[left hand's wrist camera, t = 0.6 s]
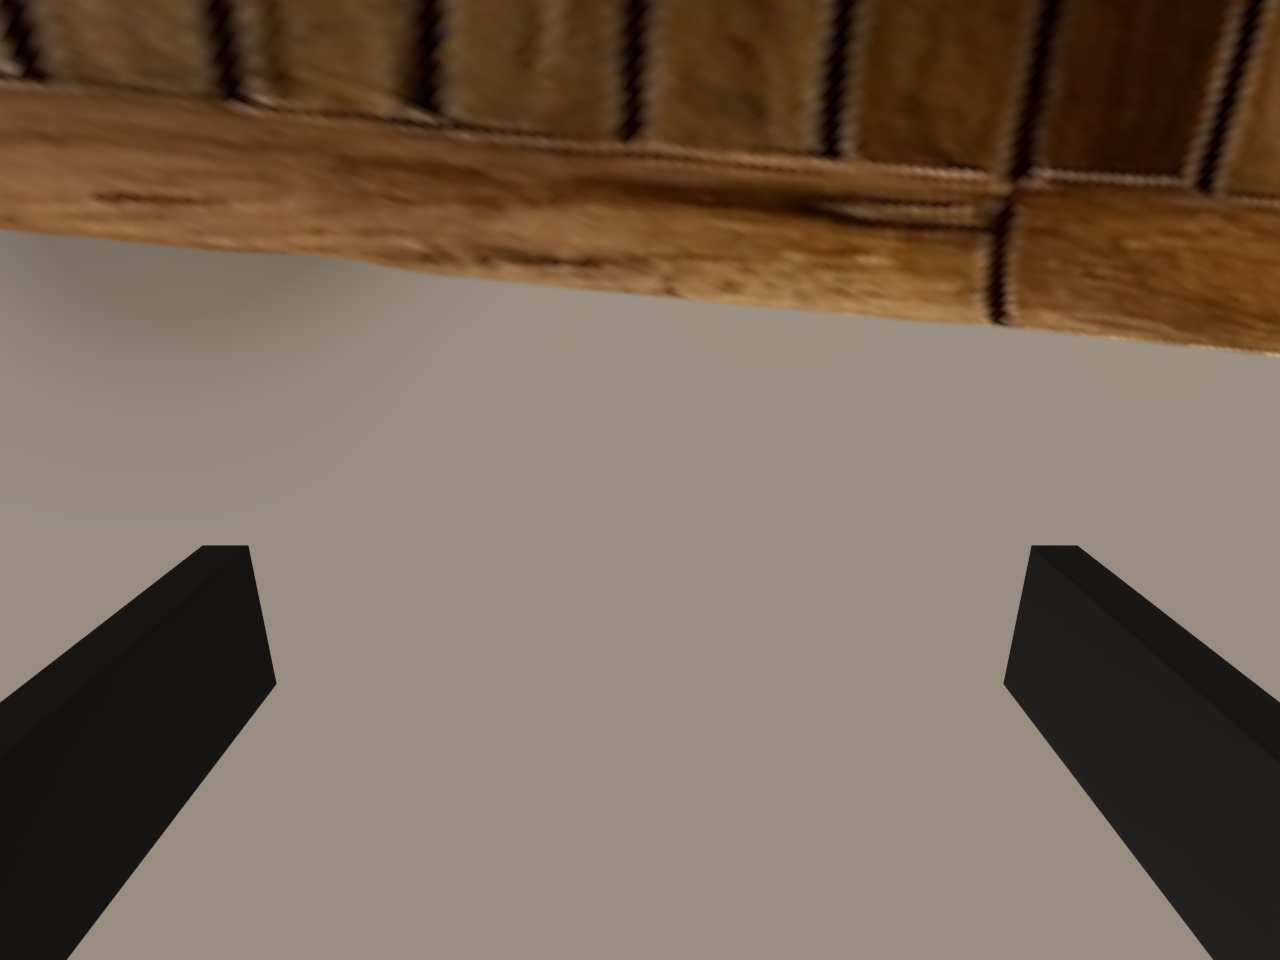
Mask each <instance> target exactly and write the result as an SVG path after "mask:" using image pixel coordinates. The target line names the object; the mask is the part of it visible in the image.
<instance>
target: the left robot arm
mask: <svg viewBox="0 0 1280 960" xmlns="http://www.w3.org/2000/svg"><path fill="white" fill-rule="evenodd" d="M275 685H276V679H275V674H274V669H273V664H272V659H271V655H270V650H269V645H268V640H267V635H266V630H265V625H264V620H263V615H262V610H261V605H260V600H259V595H258V590H257V586H256V581H255V576H254V571H253V566H252V561H251V556H250V551H249V546H201V547H200V548H199V549H198V550H196V551H195V552H194V553H192V554H191V555H190V556H189V557H187V558H186V559H185V560H183V561H182V562H181V563H179V564H178V565H177V566H176V567H174V568H173V569H172V570H170V571H169V572H168V573H167V574H165V575H164V576H163V577H161V578H160V579H159V580H158V581H156V582H155V583H154V584H153V585H151V586H150V587H149V588H147V589H146V590H145V591H143V592H142V593H141V594H140V595H138V596H137V597H136V598H134V599H133V600H132V601H131V602H129V603H128V604H127V605H125V606H124V607H123V608H121V609H120V610H119V611H118V612H116V613H115V614H114V615H112V616H111V617H110V618H109V619H107V620H106V621H105V622H103V623H102V624H101V625H100V626H98V627H97V628H96V629H94V630H93V631H92V632H91V633H89V634H88V635H87V636H85V637H84V638H83V639H82V640H80V641H79V642H78V643H76V644H75V645H74V646H72V647H71V648H70V649H69V650H67V651H66V652H65V653H63V654H62V655H61V656H60V657H58V658H57V659H56V660H54V661H53V662H52V663H51V664H49V665H48V666H47V667H45V668H44V669H43V670H42V671H40V672H39V673H38V674H36V675H35V676H34V677H33V678H31V679H30V680H29V681H27V682H26V683H25V684H23V685H22V686H21V687H20V688H18V689H17V690H16V691H15V692H13V693H12V694H11V695H9V696H8V697H7V698H6V699H4V700H3V701H2V702H0V960H67V959H68V957H69V956H70V955H71V953H72V952H73V951H74V949H75V948H76V947H77V946H78V944H79V943H80V942H81V940H82V939H83V938H84V936H85V935H86V934H87V932H88V931H89V930H90V928H91V927H92V926H93V925H94V923H95V922H96V921H97V919H98V918H99V917H100V915H101V914H102V913H103V911H104V910H105V909H106V907H107V906H108V905H109V903H110V902H111V901H112V900H113V898H114V897H115V896H116V894H117V893H118V892H119V890H120V889H121V888H122V886H123V885H124V884H125V882H126V881H127V880H128V879H129V877H130V876H131V875H132V873H133V872H134V871H135V869H136V868H137V867H138V865H139V864H140V863H141V861H142V860H143V859H144V858H145V856H146V855H147V854H148V852H149V851H150V850H151V848H152V847H153V846H154V844H155V843H156V842H157V840H158V839H159V838H160V836H161V835H162V834H163V832H164V831H165V830H166V829H167V827H168V826H169V825H170V823H171V822H172V821H173V819H174V818H175V817H176V815H177V814H178V813H179V811H180V810H181V809H182V808H183V806H184V805H185V804H186V802H187V801H188V800H189V798H190V797H191V796H192V794H193V793H194V792H195V790H196V789H197V788H198V786H199V785H200V784H201V783H202V781H203V780H204V779H205V777H206V776H207V775H208V773H209V772H210V771H211V769H212V768H213V767H214V766H215V764H216V763H217V762H218V760H219V759H220V758H221V756H222V755H223V754H224V752H225V751H226V750H227V748H228V747H229V746H230V744H231V743H232V742H233V741H234V739H235V738H236V737H237V735H238V734H239V733H240V731H241V730H242V729H243V727H244V726H245V725H246V723H247V722H248V721H249V719H250V718H251V717H252V716H253V714H254V713H255V712H256V710H257V709H258V708H259V706H260V705H261V704H262V702H263V701H264V700H265V698H266V697H267V696H268V695H269V693H270V692H271V691H272V689H273V688H274V687H275ZM1004 685H1005V687H1006V688H1007V689H1008V691H1009V692H1010V693H1011V695H1012V696H1013V697H1014V698H1015V700H1016V701H1017V702H1018V704H1019V705H1020V706H1021V708H1022V709H1023V710H1024V712H1025V713H1026V714H1027V716H1028V717H1029V718H1030V720H1031V721H1032V722H1033V723H1034V725H1035V726H1036V727H1037V729H1038V730H1039V731H1040V733H1041V734H1042V735H1043V737H1044V738H1045V739H1046V741H1047V742H1048V743H1049V744H1050V746H1051V747H1052V748H1053V750H1054V751H1055V752H1056V754H1057V755H1058V756H1059V758H1060V759H1061V760H1062V761H1063V763H1064V764H1065V766H1066V767H1067V768H1068V769H1069V771H1070V772H1071V773H1072V775H1073V776H1074V777H1075V779H1076V780H1077V781H1078V783H1079V784H1080V785H1081V786H1082V788H1083V789H1084V790H1085V792H1086V793H1087V794H1088V796H1089V797H1090V798H1091V800H1092V801H1093V802H1094V804H1095V805H1096V806H1097V808H1098V809H1099V810H1100V811H1101V813H1102V814H1103V815H1104V817H1105V818H1106V819H1107V821H1108V822H1109V823H1110V825H1111V826H1112V827H1113V829H1114V830H1115V831H1116V833H1117V834H1118V835H1119V836H1120V838H1121V839H1122V840H1123V842H1124V843H1125V844H1126V846H1127V847H1128V848H1129V850H1130V851H1131V852H1132V854H1133V855H1134V856H1135V858H1136V859H1137V860H1138V861H1139V863H1140V864H1141V865H1142V867H1143V868H1144V869H1145V871H1146V872H1147V873H1148V875H1149V876H1150V877H1151V879H1152V880H1153V881H1154V882H1155V884H1156V885H1157V886H1158V888H1159V889H1160V890H1161V892H1162V893H1163V894H1164V896H1165V897H1166V898H1167V900H1168V901H1169V902H1170V903H1171V905H1172V906H1173V907H1174V909H1175V910H1176V911H1177V913H1178V914H1179V915H1180V917H1181V918H1182V919H1183V921H1184V922H1185V923H1186V925H1187V926H1188V927H1189V928H1190V930H1191V931H1192V932H1193V934H1194V935H1195V936H1196V938H1197V939H1198V940H1199V942H1200V943H1201V944H1202V946H1203V947H1204V948H1205V950H1206V951H1207V952H1208V953H1209V955H1210V956H1211V957H1212V959H1213V960H1280V702H1278V701H1277V700H1276V699H1275V698H1273V697H1272V696H1271V695H1269V694H1268V693H1267V692H1266V691H1264V690H1263V689H1262V688H1260V687H1259V686H1258V685H1257V684H1255V683H1254V682H1253V681H1251V680H1250V679H1249V678H1247V677H1246V676H1245V675H1244V674H1242V673H1241V672H1240V671H1238V670H1237V669H1236V668H1235V667H1233V666H1232V665H1231V664H1229V663H1228V662H1227V661H1226V660H1224V659H1223V658H1222V657H1220V656H1219V655H1218V654H1216V653H1215V652H1214V651H1213V650H1211V649H1210V648H1209V647H1207V646H1206V645H1205V644H1204V643H1202V642H1201V641H1200V640H1198V639H1197V638H1196V637H1195V636H1193V635H1192V634H1191V633H1189V632H1188V631H1187V630H1186V629H1184V628H1183V627H1182V626H1180V625H1179V624H1178V623H1177V622H1175V621H1174V620H1173V619H1171V618H1170V617H1169V616H1168V615H1166V614H1165V613H1164V612H1162V611H1161V610H1160V609H1159V608H1157V607H1156V606H1155V605H1153V604H1152V603H1151V602H1150V601H1148V600H1147V599H1146V598H1144V597H1143V596H1142V595H1140V594H1139V593H1138V592H1137V591H1135V590H1134V589H1133V588H1131V587H1130V586H1129V585H1127V584H1126V583H1125V582H1124V581H1122V580H1121V579H1120V578H1119V577H1117V576H1116V575H1115V574H1113V573H1112V572H1111V571H1110V570H1108V569H1107V568H1106V567H1104V566H1103V565H1102V564H1101V563H1099V562H1098V561H1097V560H1095V559H1094V558H1093V557H1091V556H1090V555H1089V554H1088V553H1086V552H1085V551H1084V550H1082V549H1081V548H1080V547H1079V546H1031V551H1030V556H1029V561H1028V566H1027V571H1026V576H1025V581H1024V586H1023V590H1022V595H1021V600H1020V605H1019V610H1018V615H1017V620H1016V625H1015V630H1014V635H1013V640H1012V645H1011V650H1010V654H1009V659H1008V664H1007V669H1006V674H1005V679H1004Z"/></svg>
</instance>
